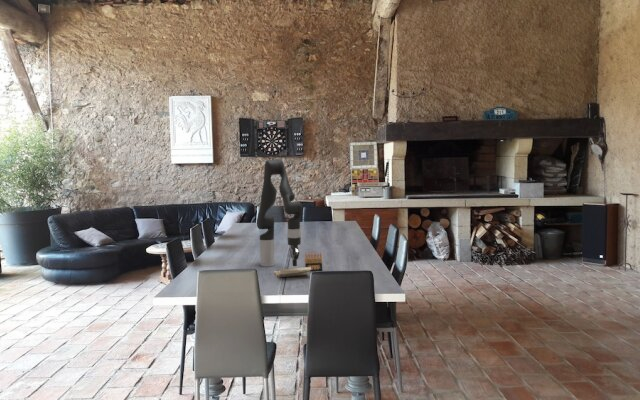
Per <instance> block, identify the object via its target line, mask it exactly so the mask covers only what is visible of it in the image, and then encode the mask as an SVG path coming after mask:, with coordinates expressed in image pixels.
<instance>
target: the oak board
mask: <svg viewBox="0 0 640 400" xmlns="http://www.w3.org/2000/svg"><path fill="white" fill-rule="evenodd" d="M279 272H280V270H279V271H278V270H276V271H273V275H274V276H275V277H276V278H279V277H278V273H279Z"/></svg>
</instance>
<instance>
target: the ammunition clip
mask: <svg viewBox="0 0 640 400" xmlns="http://www.w3.org/2000/svg"><path fill="white" fill-rule="evenodd" d="M322 256H323V255H322V252H321V251H320V252H318V251H317V252H316V251H314V253H313V252H311V253H310V252H308V253H307V251H306V252H305V258H304V264H305V265H304V267H311V270H310V272H323V257H322Z"/></svg>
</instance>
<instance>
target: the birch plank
mask: <svg viewBox="0 0 640 400" xmlns="http://www.w3.org/2000/svg"><path fill="white" fill-rule="evenodd" d="M310 270H311V267H305V266H304V267H294V268H284V269H283V268H282V269H280V270H279V271H280V272H279V273H278V277H277V278H282V277H283V278H284V277H285V278H286V277H295V276H306V275H308V274H309V273H310V272H311V271H310Z"/></svg>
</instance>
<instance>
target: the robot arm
mask: <svg viewBox="0 0 640 400" xmlns="http://www.w3.org/2000/svg"><path fill="white" fill-rule="evenodd" d="M263 170H264V171H263V184H262V188H261V189H262V190H261V194H260V195H261V197H260V204H259V209H258V212H257V213H258V214H257V217H256V226H257V229H259V230H266V232H264V233H262V234H260V235H259V258H260V260H259V261H260V267H273V266H275V218H274V215H273V214H267V212H268V211H269V209H271V207H272V206H274V204H275V202H276V199H277V194H278V193H277V189H276V187H275V186H274V184H273V182H272V176H275V175H276V176H277V175H279V177H280V183H279V187H278V189H279V193H280V196H281V198H282V201H283V209H284V212H285V213H286V214H287V215H293V217H291V218H288V220H287V245H288V246H290V248H289V253H290V258H291V260H292V266H293V267H297V266H298V264H297V263H298V259H299V258H300V257H299V256H300V251H299V247H298V246H300V245H301V243H302V240H301V239H302V237H301V223H300V222H301V220H302V219H301V218H302V214H303V209H304V208H303V204H302V203H301V202H300V201H294V200H295V193H294V192H293V189H292V187H291V185H290V181H289V177H288V174H287V171H286V167H285V163H284V162H283V160H282V159H280V158H279V159H268V160H266V161H265V163H264V169H263Z"/></svg>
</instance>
